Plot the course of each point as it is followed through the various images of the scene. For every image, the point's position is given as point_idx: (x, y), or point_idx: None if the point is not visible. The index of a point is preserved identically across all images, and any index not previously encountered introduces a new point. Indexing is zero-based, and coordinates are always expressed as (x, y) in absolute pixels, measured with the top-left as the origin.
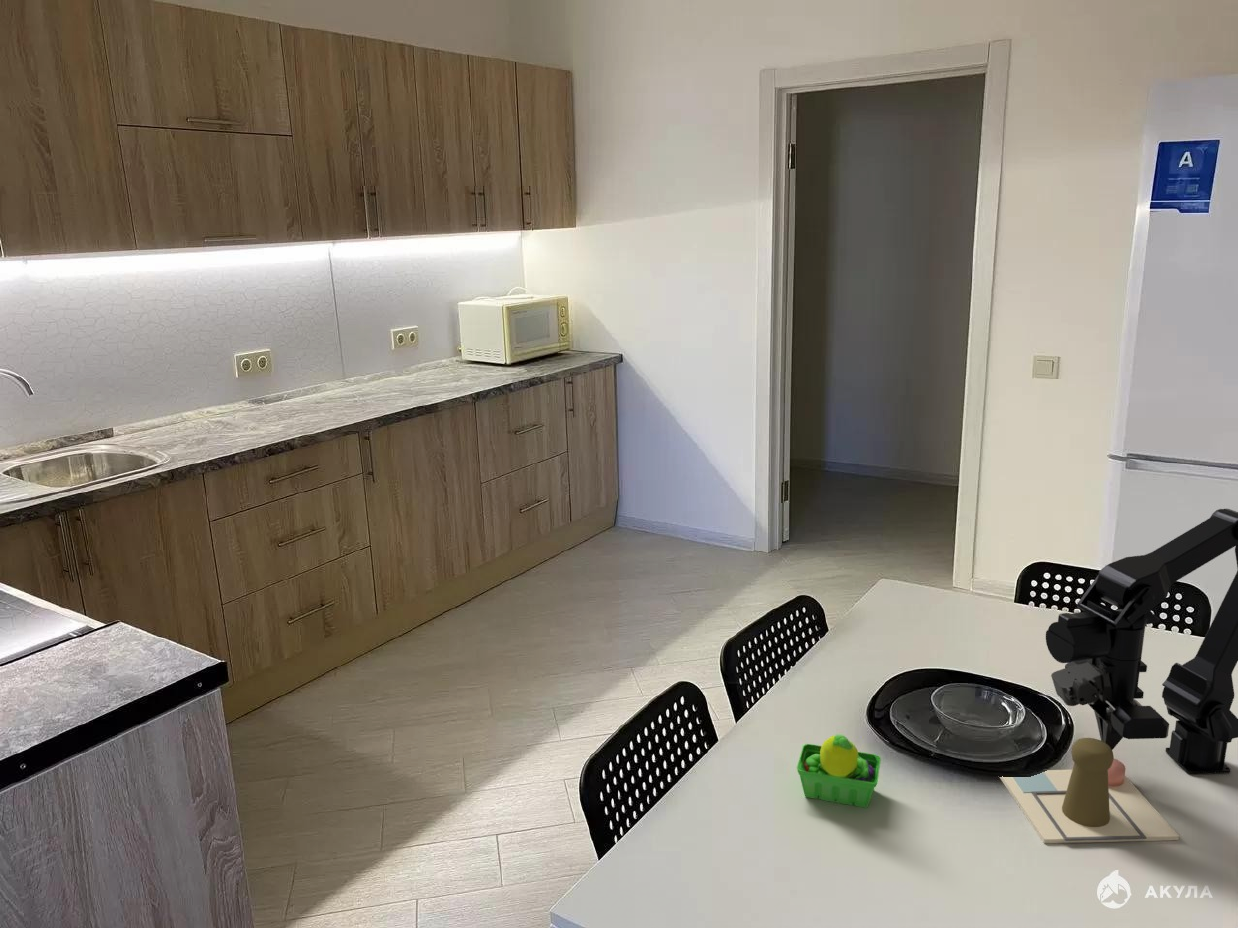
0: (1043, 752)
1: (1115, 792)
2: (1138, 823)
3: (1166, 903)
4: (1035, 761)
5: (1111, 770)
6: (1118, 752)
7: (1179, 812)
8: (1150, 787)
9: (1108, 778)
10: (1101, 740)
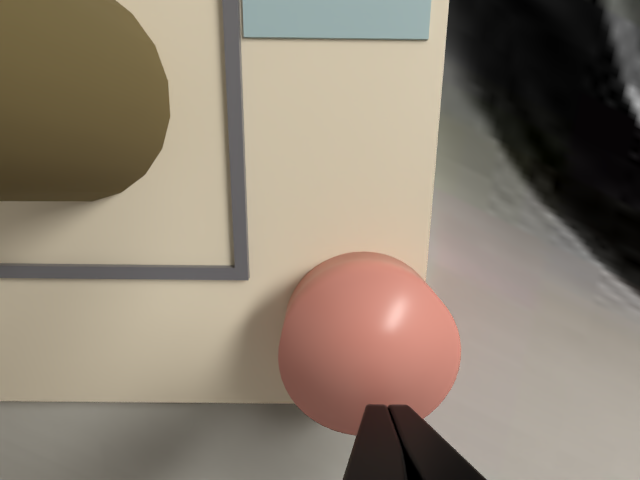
0: (615, 148)
1: (241, 311)
2: (15, 295)
3: None
4: (549, 68)
5: (313, 357)
6: (542, 455)
7: (144, 469)
8: (299, 452)
9: (285, 318)
10: (427, 435)
